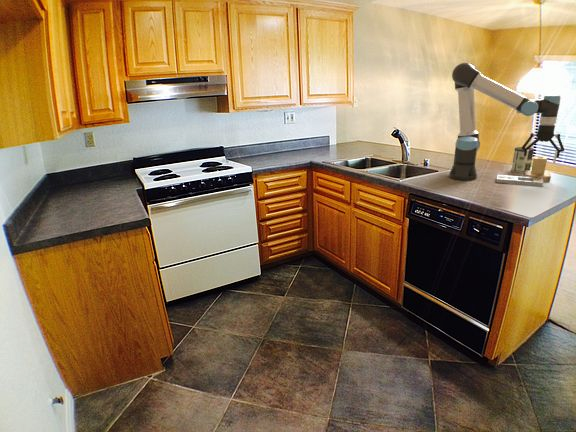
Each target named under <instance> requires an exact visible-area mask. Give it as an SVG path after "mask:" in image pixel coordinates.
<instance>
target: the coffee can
mask: <svg viewBox="0 0 576 432" xmlns="http://www.w3.org/2000/svg"><path fill="white" fill-rule="evenodd" d="M526 147H527V146H526ZM526 147H525V148H526ZM528 150H529V152H528V158H527V162H525V159H526V156H524V151H525V150H523V149H522V146H519V147H518V146H517V147H514V151H513V152H514V153H513V159H512V163H511V164H512V165H511V170H510V171H511V172H513V173H522V174H525V170H530V171H531V169H532V164H533V158H534V151H535V149H534V148H532V147H531V148H529V149H528Z"/></svg>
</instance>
